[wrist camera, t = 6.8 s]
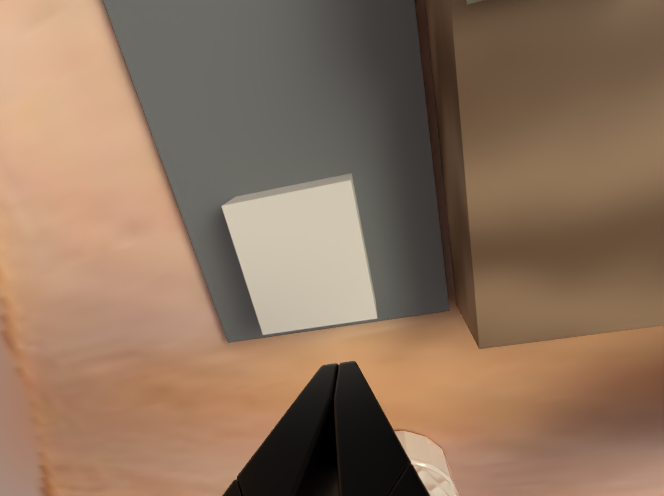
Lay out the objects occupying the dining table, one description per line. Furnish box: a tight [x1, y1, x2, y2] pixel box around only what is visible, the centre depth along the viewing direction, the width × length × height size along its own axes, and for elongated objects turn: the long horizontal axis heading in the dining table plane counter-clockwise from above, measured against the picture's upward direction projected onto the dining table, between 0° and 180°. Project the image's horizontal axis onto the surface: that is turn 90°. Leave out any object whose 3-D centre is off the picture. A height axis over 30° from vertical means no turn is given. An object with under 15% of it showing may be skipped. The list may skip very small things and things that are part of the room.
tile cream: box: [221, 173, 377, 335], centre depth 18 cm, size 7×6×2 cm
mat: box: [103, 0, 449, 343], centre depth 17 cm, size 22×13×1 cm, turn 12°
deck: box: [425, 0, 664, 349], centre depth 14 cm, size 22×10×4 cm, turn 12°
